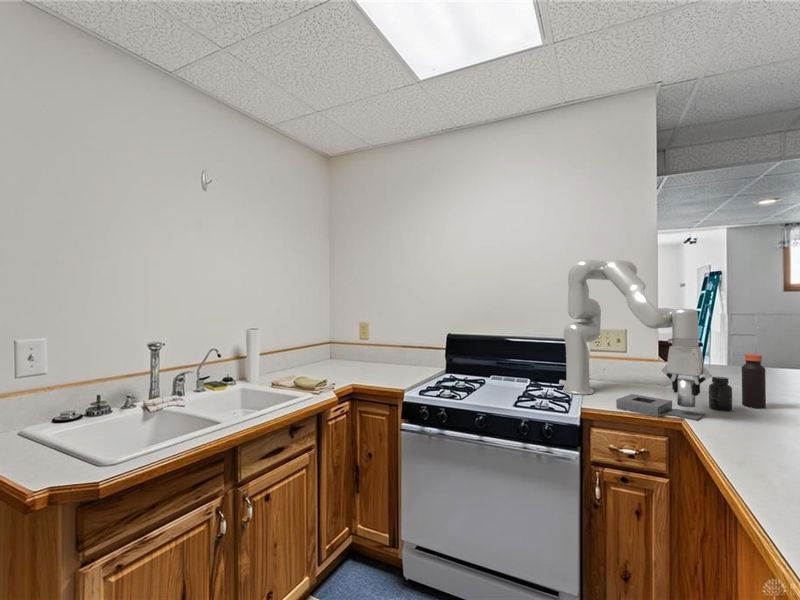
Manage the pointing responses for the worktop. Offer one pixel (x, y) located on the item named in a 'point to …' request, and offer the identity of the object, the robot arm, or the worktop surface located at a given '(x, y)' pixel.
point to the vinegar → (753, 382)
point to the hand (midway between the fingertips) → (686, 393)
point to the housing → (644, 405)
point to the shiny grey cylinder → (685, 392)
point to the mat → (686, 414)
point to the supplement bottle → (720, 394)
